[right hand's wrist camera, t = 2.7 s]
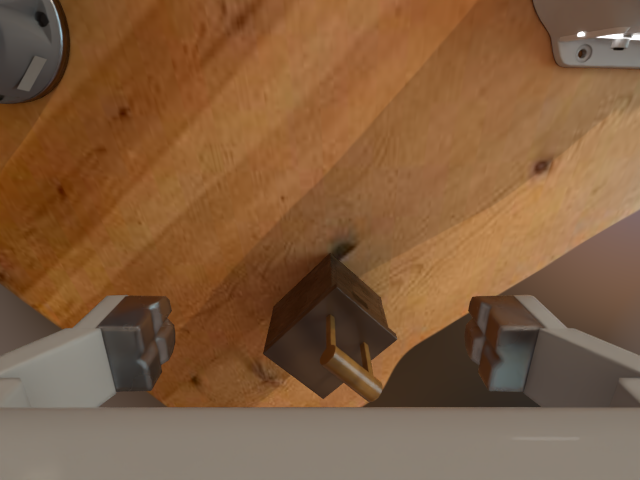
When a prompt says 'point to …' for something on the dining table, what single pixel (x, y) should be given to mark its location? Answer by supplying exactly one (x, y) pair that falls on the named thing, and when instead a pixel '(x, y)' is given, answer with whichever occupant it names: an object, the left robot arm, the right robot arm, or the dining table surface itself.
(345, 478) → the right robot arm
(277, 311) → the chest
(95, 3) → the dining table surface
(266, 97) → the dining table surface
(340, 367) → the lid
